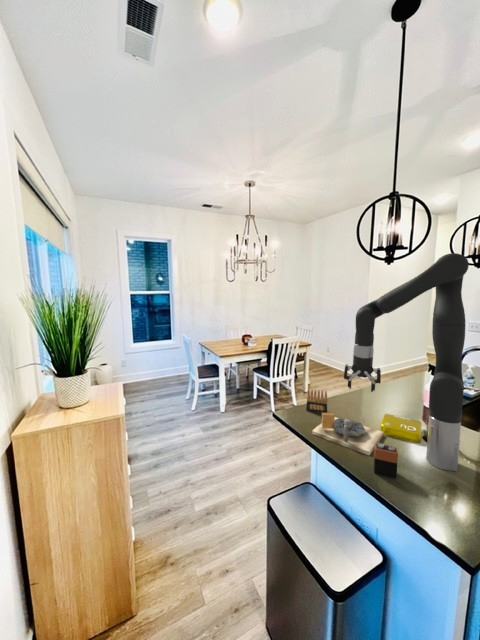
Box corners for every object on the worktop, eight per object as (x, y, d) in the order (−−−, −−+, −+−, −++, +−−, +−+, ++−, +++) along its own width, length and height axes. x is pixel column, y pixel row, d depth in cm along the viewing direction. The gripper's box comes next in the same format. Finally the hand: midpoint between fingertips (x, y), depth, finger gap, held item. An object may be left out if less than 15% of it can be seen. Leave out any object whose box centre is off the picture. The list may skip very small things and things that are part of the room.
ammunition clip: (306, 410, 142) (306, 388, 141) (306, 409, 144) (306, 387, 143) (327, 413, 138) (327, 391, 137) (327, 412, 140) (327, 390, 139)
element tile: (421, 430, 122) (421, 419, 122) (420, 445, 110) (421, 434, 110) (384, 421, 131) (384, 411, 130) (380, 434, 118) (380, 424, 118)
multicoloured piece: (358, 422, 123) (359, 409, 122) (368, 436, 110) (369, 422, 110) (319, 419, 125) (319, 407, 125) (324, 434, 112) (325, 420, 112)
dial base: (383, 435, 117) (384, 417, 116) (369, 455, 102) (370, 435, 101) (330, 418, 133) (331, 403, 132) (311, 434, 118) (312, 416, 117)
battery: (373, 466, 96) (374, 440, 95) (395, 471, 93) (396, 444, 92) (373, 474, 92) (375, 446, 91) (396, 479, 89) (398, 451, 88)
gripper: (344, 355, 111) (342, 391, 115) (383, 359, 105) (380, 396, 109) (345, 349, 118) (343, 383, 121) (381, 352, 112) (378, 388, 116)
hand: (360, 389), depth 115 cm, fingers open, 8 cm apart
